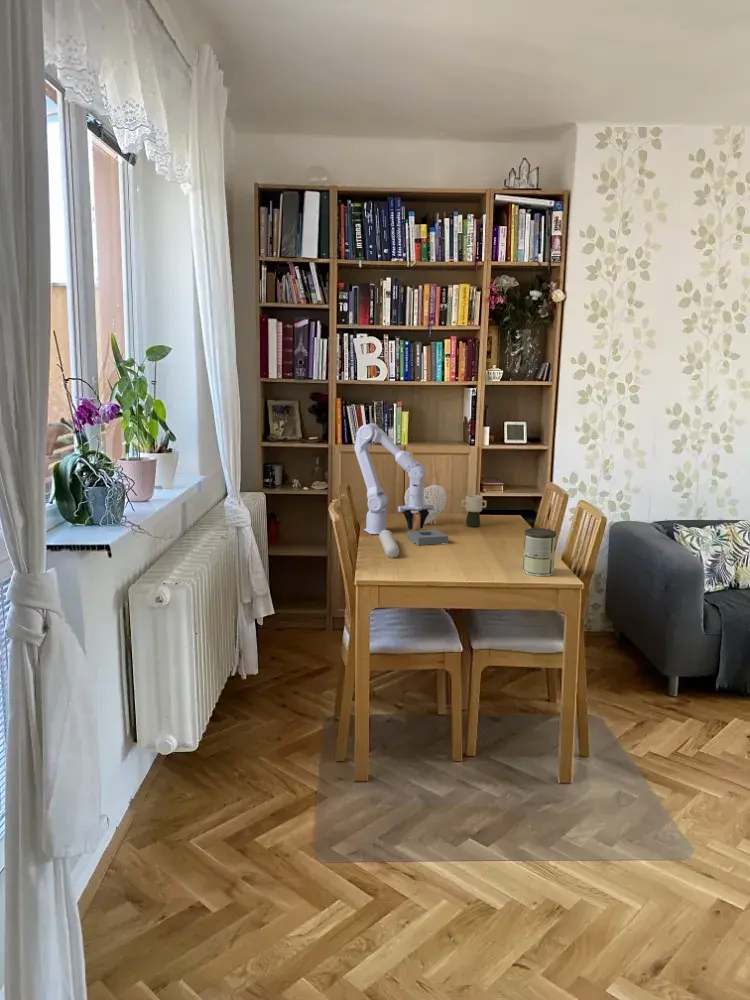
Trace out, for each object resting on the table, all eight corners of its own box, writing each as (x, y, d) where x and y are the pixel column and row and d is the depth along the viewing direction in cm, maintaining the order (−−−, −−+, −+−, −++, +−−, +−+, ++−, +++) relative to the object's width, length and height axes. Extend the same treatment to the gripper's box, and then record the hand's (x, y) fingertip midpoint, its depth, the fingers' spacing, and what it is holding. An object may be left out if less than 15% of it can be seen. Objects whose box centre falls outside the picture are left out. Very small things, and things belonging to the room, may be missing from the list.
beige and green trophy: (483, 524, 332) (484, 494, 330) (487, 527, 325) (488, 497, 323) (458, 524, 331) (459, 494, 329) (462, 527, 324) (463, 497, 322)
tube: (402, 548, 271) (394, 532, 296) (388, 543, 270) (381, 527, 295) (397, 562, 272) (389, 544, 296) (383, 557, 271) (376, 540, 296)
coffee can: (518, 568, 262) (520, 528, 260) (547, 568, 263) (550, 527, 261) (528, 576, 252) (530, 534, 250) (558, 576, 253) (561, 534, 251)
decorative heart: (443, 521, 335) (444, 483, 332) (447, 527, 325) (449, 487, 322) (402, 521, 334) (403, 482, 331) (405, 527, 324) (406, 486, 320)
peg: (408, 534, 309) (409, 512, 308) (417, 534, 310) (418, 512, 309) (412, 537, 305) (413, 514, 304) (421, 536, 307) (422, 514, 305)
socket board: (407, 538, 303) (407, 531, 302) (435, 536, 306) (435, 529, 306) (418, 545, 291) (418, 537, 291) (447, 543, 295) (447, 536, 295)
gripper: (402, 497, 299) (402, 531, 301) (437, 496, 304) (436, 529, 306) (396, 494, 306) (395, 527, 308) (430, 493, 310) (429, 526, 313)
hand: (415, 528), depth 307 cm, fingers open, 4 cm apart
